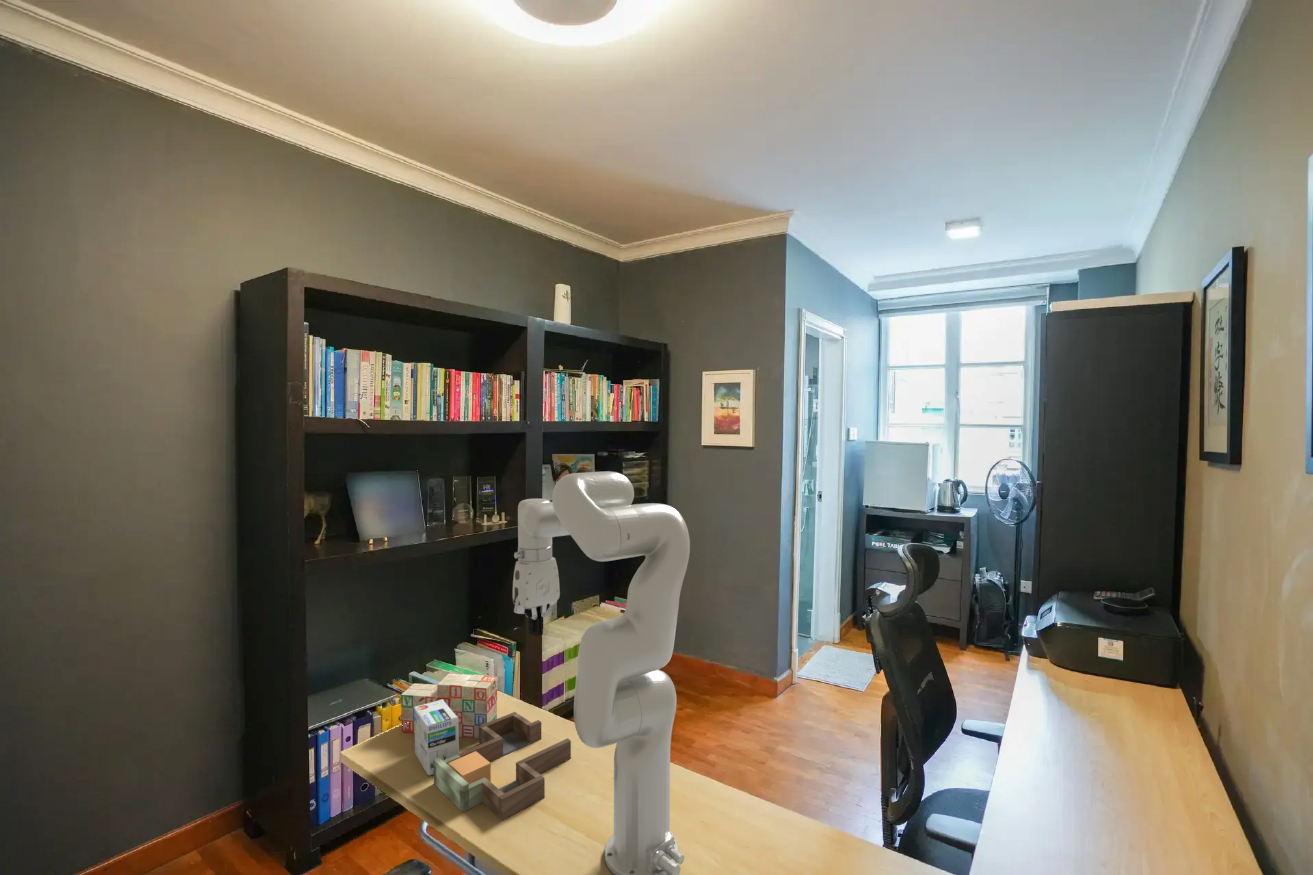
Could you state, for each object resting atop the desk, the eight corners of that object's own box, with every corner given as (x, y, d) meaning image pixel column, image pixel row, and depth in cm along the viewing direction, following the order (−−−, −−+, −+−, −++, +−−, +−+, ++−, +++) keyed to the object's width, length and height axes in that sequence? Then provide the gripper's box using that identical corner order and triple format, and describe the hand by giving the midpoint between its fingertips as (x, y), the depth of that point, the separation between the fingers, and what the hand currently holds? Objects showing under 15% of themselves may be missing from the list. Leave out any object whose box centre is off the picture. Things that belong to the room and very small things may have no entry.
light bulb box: (460, 766, 128) (459, 716, 128) (427, 777, 124) (427, 726, 123) (444, 744, 136) (443, 697, 136) (413, 753, 132) (412, 706, 132)
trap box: (591, 772, 126) (591, 748, 126) (482, 830, 108) (482, 803, 108) (521, 725, 145) (521, 705, 144) (418, 768, 127) (418, 745, 127)
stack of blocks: (400, 733, 141) (399, 681, 141) (414, 719, 148) (413, 670, 147) (487, 739, 139) (486, 687, 138) (497, 725, 145) (497, 675, 144)
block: (490, 787, 121) (490, 762, 121) (462, 800, 117) (462, 775, 116) (476, 774, 125) (475, 751, 125) (448, 786, 121) (448, 762, 121)
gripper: (516, 562, 127) (517, 647, 128) (571, 551, 138) (572, 629, 139) (497, 556, 132) (497, 638, 133) (552, 546, 143) (552, 622, 144)
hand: (535, 634), depth 136 cm, fingers closed
